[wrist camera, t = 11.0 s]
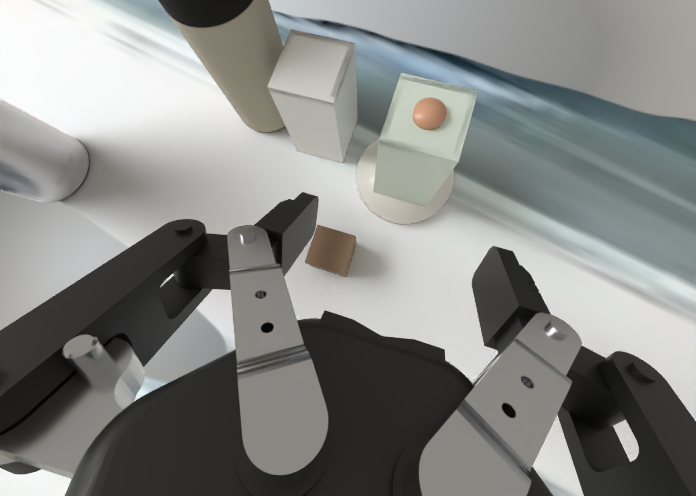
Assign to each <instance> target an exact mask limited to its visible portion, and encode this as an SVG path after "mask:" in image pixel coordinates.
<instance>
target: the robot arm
mask: <svg viewBox="0 0 696 496" xmlns="http://www.w3.org/2000/svg"><path fill="white" fill-rule="evenodd" d="M88 166H89V157H88V153H87V150H86V149H85V147H84V145H83V144H82V143H81V142H79V141H78V140H76V139H74V138H73V137H71V136H69V135H67V134H65V133H63V132H61V131H60V130H58V129H56V128H54V127H52V126H50V125H48V124H47V123H45V122H43V121H41V120H39V119H37V118H36V117H34V116H32V115H30V114H28V113H26V112H24V111H23V110H21V109H19V108H17V107H15V106H13V105H11V104H9V103H8V102H6V101H4V100H2V99H0V191H2V192H6V193H9V194H13V195H17V196H20V197H24V198H27V199H31V200H34V201H38V202H44V203H50V202H56V201H59V200H62V199H64V198H66V197H68V196H69V195H71V194H72V193H73V192H74V191H76V189H77V188H78V187H79V186H80V185H81V183H82V182H83V180H84V179H85V176H86V174H87V171H88ZM317 210H318V196H314V195H311V194H307V193H304V192H302V193H301V194H300V195H299V196H298V197H297V198H295V199H294V200H291V199H288V200H286V201H283V202H280V203H279V204H278V205H277V206H276V207H274V209H272V210H271V211H270V212H269V213H268V214H266V215H265V216H264V217H263V218H262V219H261V220H260V221H259V222H257V223H256V224H255V225H254V226H252V225H245V226H239V227H236V228H234V229H232V230H231V231H230V232H229V233H228V235H219V234H207V233H206V229H205V225H204V224H203V223H201V222H199V221H197V220H191V219H182V220H176V221H172V222H169V223H167V224H165V225H164V226H162V227H161V228H159V229H158V230H156V231H154V232H153V233H151V234H150V235H148V236H147V237H145V238H144V239H142V240H140V241H139V242H137V243H136V244H134V245H133V246H131V247H130V248H128V249H126V250H125V251H123V252H122V253H120V254H119V255H117V256H116V257H114V258H112V259H111V260H109V261H108V262H106V263H105V264H103V265H102V266H100V267H99V268H97V269H95V270H94V271H92V272H91V273H89V274H88V275H86V276H84V277H83V278H81V279H80V280H78V281H77V282H75V283H74V284H72V285H71V286H69V287H67V288H66V289H64V290H63V291H61V292H60V293H58V294H57V295H55V296H53V297H52V298H50V299H49V300H47V301H46V302H44V303H43V304H41V305H39V306H38V307H37V308H35V309H33V310H32V311H30V312H29V313H27V314H25V315H24V316H22V317H21V318H19V319H18V320H16V321H15V322H13V323H11V324H10V325H8V326H7V327H5V328H4V329H2V330H1V331H0V468H2V469H4V470H6V471H9V472H11V473H14V474H28V473H32V472H36V471H38V470H41V469H43V470H46V471H49V472H52V473H55V474H58V475H62V476H65V477H68V478H71V479H72V480H71V482H70V485H69V487H68V490H67V492H66V494H65V496H553V495H552V493H551V492H550V491H549V489H548V488H547V486H546V485H545V484H544V482H543V481H542V480H541V478H540V477H539V475H538V474H537V473H536V471H535V470H534V468H533V467H532V465H533V463H534V461H535V459H536V457H537V455H538V453H539V451H540V449H541V447H542V445H543V443H544V441H545V438H546V436H547V434H548V432H549V430H550V428H551V426H552V424H553V422H554V420H555V418H556V416H557V414H558V417H559V420H560V423H561V427H562V430H563V433H564V436H565V439H566V442H567V445H568V448H569V451H570V454H571V457H572V460H573V463H574V466H575V469H576V473H577V476H578V479H579V482H580V485H581V488H582V491H583V494H584V496H696V421H695V420H694V419H693V417H692V416H691V414H690V413H689V412H688V410H687V409H686V407H685V406H684V405H683V403H682V402H681V400H680V399H679V398H678V396H677V395H676V394H675V392H674V391H673V389H672V388H671V387H670V385H669V384H668V382H667V381H666V380H665V379H664V378H663V377H662V375H661V374H660V373H658V372H657V371H656V370H655V369H654V368H653V367H651V366H650V365H649V364H647V363H646V362H644V361H643V360H641V359H639V358H638V357H636V356H634V355H632V354H629V353H626V352H622V351H617V352H614V353H613V354H611V355H610V356H608V357H607V358H604V357H602V356H601V355H599V354H597V353H595V352H593V351H591V350H589V349H587V348H585V347H583V346H581V345H582V342H581V339H580V337H579V335H578V334H577V333H576V332H575V330H574V329H573V328H572V327H571V326H569V325H568V324H567V323H566V322H564V321H563V320H561V319H559V318H557V317H556V316H553V315H551V314H550V312H549V310H548V308H547V306H546V304H545V302H544V300H543V298H542V296H541V294H540V293H538V292H539V290H538V288H537V286H536V285H535V282H534V280H533V279H532V277H531V275H530V274H529V273H528V272H527V271H526V270H525V269H524V268H523V266H521V265H519V263H518V261H517V259H516V256H515V254H514V252H513V251H510V250H506V249H503V248H499V247H495V246H493V247H492V248H490V250H489V251H488V253H487V254H486V256H485V257H484V259H483V261H482V262H481V264H480V265H479V267H478V268H477V270H476V272H475V273H474V276H473V279H472V288H473V293H474V298H475V303H476V307H477V312H478V317H479V322H480V327H481V332H482V336H483V341H484V346H487V347H490V348H493V349H496V350H498V354H497V355H496V356H495V357H494V359H493V360H492V361H491V362H490V363H489V364H488V365H487V367H486V368H485V369H484V370H483V371H482V372H481V373H480V374H479V376H478V377H477V378H476V379H475V380H474V381H473V382H472V383H471V381H470V380H469V379H468V378H467V377H466V376H465V375H464V374H463V373H462V372H461V371H459V370H458V369H457V368H456V367H454V366H453V365H451V364H450V363H449V362H447V361H445V349H442V348H439V347H436V346H432V345H429V344H426V343H423V342H420V341H417V340H414V339H404V338H394V337H384V336H381V335H379V334H377V333H375V332H374V331H372V330H370V329H368V328H367V327H365V326H363V325H362V324H360V323H358V322H356V321H355V320H353V319H350V318H347V317H344V316H341V315H338V314H335V313H331V312H328V311H324V313H323V315H322V318H321V319H317V318H313V319H302V320H297V319H296V316H295V312H294V309H293V306H292V302H291V299H290V296H289V292H288V289H287V286H286V282H285V279H284V276H285V274H286V273H287V272H288V270H289V269H290V267H291V266H292V265H293V263H294V262H295V260H296V259H297V257H298V256H299V255H300V253H301V252H302V250H303V249H304V247H305V246H306V245H307V243H308V242H309V240H310V239H311V237H312V236H313V233H314V231H315V227H316V219H317ZM171 274H174V276H173V277H172V278H171V279H170V280H169V281H167V282H166V283H165V284H164V285H163V286H162V287H161V288H160V286H161V284H162V283H163V282H164V281H165V280H166V279H167V278H168V277H169V276H170V275H171ZM212 289H225V290H231V297H232V309H233V321H234V333H235V345H236V350H234V351H232V352H230V353H228V354H226V355H224V356H222V357H220V358H218V359H216V360H214V361H212V362H210V363H208V364H206V365H204V366H202V367H200V368H198V369H196V370H194V371H192V372H190V373H188V374H186V375H184V376H182V377H180V378H178V379H176V380H174V381H172V382H170V383H168V384H166V385H164V386H162V387H160V388H158V389H156V390H154V391H152V392H150V393H148V394H146V395H144V396H142V397H141V398H139V399H137V400H136V401H134V400H135V398H136V394H137V393H138V391H139V390H140V388H141V387H142V385H143V383H144V380H145V370H144V366H145V365H146V364H147V363H148V361H149V360H150V359H151V358H152V357H153V356H154V355H155V354H156V352H157V351H158V350H159V349H160V348H161V347H162V346H163V344H165V342H166V341H167V340H168V339H169V338H170V337H171V336H172V334H173V333H174V332H175V331H176V330H177V329H178V328H179V327H180V325H181V324H182V323H183V322H184V321H185V320H186V319H187V318H188V316H189V315H190V314H191V313H192V312H193V311H194V310H195V309H196V307H197V306H198V305H199V304H200V303H201V302H202V301H203V299H204V298H205V297H206V296H207V295H208V294H209V293H210V292H211V290H212ZM133 401H134V402H133ZM625 419H626V421H627V423H628V425H629V426H630V428H631V430H632V432H633V434H634V436H635V438H636V440H637V442H638V445H639V454H638V457H637V458H636V459H635V460H634V461H632V462H630V461H629V459H628V457H627V455H626V453H625V451H624V448H623V446H622V444H621V442H620V440H619V438H618V436H617V434H616V432H615V429H614V427H613V425H615V424H617V423H619V422H621V421H623V420H625Z"/></svg>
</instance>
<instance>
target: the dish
mask: <svg viewBox="0 0 696 496" xmlns="http://www.w3.org/2000/svg"><path fill="white" fill-rule="evenodd" d="M379 138H380V137H379ZM379 138H377V139H376V140H374V141H373V142H372V143H371V144H370V145H369V146H368V147H367V148H366V149H365V151H364V152H363V154H362V156H361V158H360V160H359V163H358V166H357V187H358V192H359V195H360V197H361V199H362V201H363V202H364V204H365V205H366V207H367V208H368V209H369V210H370V211H371V212H372V213H373V214H375V215H376V216H378V217H379V218H381V219H383V220H385V221H388V222H391V223H396V224H412V223H417V222H420V221H423V220H425V219H427V218H429V217H431V216H432V215H434V214H435V213H436V212H437V211H438V210H439V209H440V208H441V207H442V206H443V205H444V204H445V202H446V201H447V200H448V198H449V196H450V194H451V192H452V189H453V185H454V176H455V175H454V169H453V170H452V171H451V173H450V174H449V175H448V177H447V178H446V179H445V181H444V182H443V184H442V185H441V186H440V188H439V189H438V190H437V192H436V193H435V194H434V196H433V197H432V199H431V200H430V201H429V203H428V204H427V205H426V207H423V206H420V205H416V204H413V203H409V202H406V201H403V200H399V199H396V198H392V197H389V196H385V195H382V194H378V193H375V192H373V189H374V179H375V170H376V160H377V151H378V141H379Z"/></svg>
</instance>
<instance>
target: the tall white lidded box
mask: <svg viewBox="0 0 696 496" xmlns="http://www.w3.org/2000/svg"><path fill="white" fill-rule="evenodd" d="M267 88H268V90H269V92H270V94H271V96H272V98H273V100H274V103H275V105H276V107H277V109H278V111H279V113H280V115H281V118H282V120H283V122H284V124H285V126H286V128H287V130H288V133H289V135H290V137H291V139H292V141H293V143H294V146H295V148H296V150H297V151H300V152H304V153H308V154H311V155H315V156H319V157H323V158H326V159H330V160H334V161H337V162H341V163H343V161H344V158H345V156H346V153H347V150H348V147H349V144H350V141H351V138H352V135H353V132H354V129H355V126H356V123H357V120H358V116H357V82H356V48H355V43H352V42H347V41H343V40H338V39H333V38H329V37H324V36H319V35H315V34H310V33H305V32H301V31H296V30H292V29H291V30H290V32H289V35H288V37H287V40H286V42H285V45H284V47H283V50H282V52H281V54H280V57H279V59H278V62H277V64H276V67H275V69H274V72H273V74H272V77H271V79H270V81H269V84H268V86H267Z"/></svg>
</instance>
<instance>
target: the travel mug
mask: <svg viewBox="0 0 696 496" xmlns="http://www.w3.org/2000/svg"><path fill="white" fill-rule="evenodd" d="M159 2H160V3H161V5H162V6H163V8H164V9H165V10H166V12H167V13H168V15H169V16H170V18H171V19H172V20H173V22H174V23H175V25H176V26H177V28H178V29H179V30H180V32H181V33H182V35H183V36H184V38H185V39H186V40H187V42H188V43H189V45H190V46H191V48H192V49H193V50H194V52H195V53H196V55H197V56H198V58H199V59H200V60H201V62H202V63H203V65H204V66H205V68H206V69H207V70H208V72H209V73H210V75H211V76H212V78H213V79H214V80H215V82H216V83H217V85H218V86H219V88H220V89H221V90H222V92H223V93H224V95H225V96H226V98H227V99H228V100H229V102H230V103H231V105H232V106H233V108H234V109H235V110H236V112H237V113H238V115H239V116H240V118H241V119H242V120H243V122H244V123H245V124H246V125H247V126H248V127H250V128H252V129H254V130H256V131H260V132H272V131H276V130H279V129H281V128H283V127H285V124H284V122H283V120H282V118H281V115H280V113H279V111H278V109H277V107H276V105H275V103H274V100H273V98H272V96H271V94H270V92H269V90H268V88H267V86H268V84H269V81H270V79H271V77H272V74H273V72H274V69H275V67H276V64H277V62H278V59H279V57H280V54H281V52H282V50H283V44H282V41H281V38H280V35H279V32H278V28H277V25H276V22H275V19H274V16H273V13H272V10H271V7H270V4H269V1H268V0H159Z"/></svg>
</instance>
